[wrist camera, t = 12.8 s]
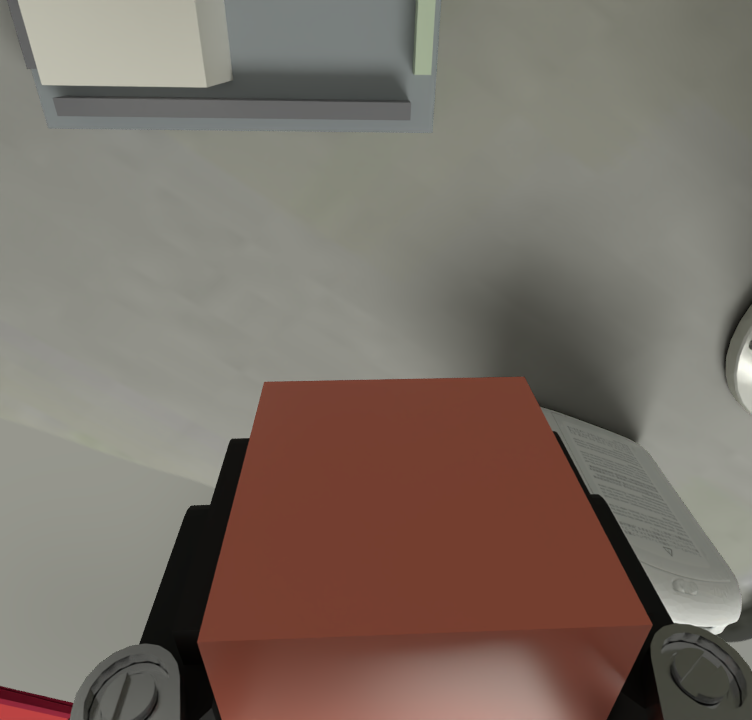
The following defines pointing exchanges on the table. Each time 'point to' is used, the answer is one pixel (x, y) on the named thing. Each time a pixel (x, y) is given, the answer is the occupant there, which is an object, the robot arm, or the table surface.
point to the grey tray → (282, 74)
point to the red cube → (414, 562)
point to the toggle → (129, 42)
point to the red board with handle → (31, 706)
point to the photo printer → (654, 524)
